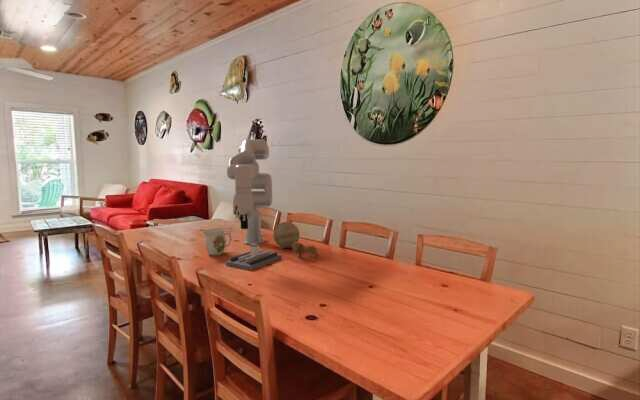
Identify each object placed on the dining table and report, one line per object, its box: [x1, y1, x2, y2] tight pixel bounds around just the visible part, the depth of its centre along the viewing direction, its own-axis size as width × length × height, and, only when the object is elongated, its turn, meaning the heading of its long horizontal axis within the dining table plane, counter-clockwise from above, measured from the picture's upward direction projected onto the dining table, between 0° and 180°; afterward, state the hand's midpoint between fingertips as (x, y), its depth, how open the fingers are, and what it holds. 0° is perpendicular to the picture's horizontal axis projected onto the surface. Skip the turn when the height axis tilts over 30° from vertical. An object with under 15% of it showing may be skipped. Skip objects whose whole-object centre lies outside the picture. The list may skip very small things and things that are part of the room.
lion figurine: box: [291, 241, 320, 260], centre depth 200 cm, size 15×5×9 cm, turn 108°
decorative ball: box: [273, 221, 300, 249], centre depth 221 cm, size 15×15×15 cm
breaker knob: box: [249, 243, 260, 257], centre depth 193 cm, size 3×3×7 cm
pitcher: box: [201, 227, 233, 256], centre depth 208 cm, size 11×18×14 cm, turn 136°
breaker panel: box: [225, 249, 283, 271], centre depth 193 cm, size 24×16×4 cm, turn 149°
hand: (244, 228), depth 185 cm, fingers closed
